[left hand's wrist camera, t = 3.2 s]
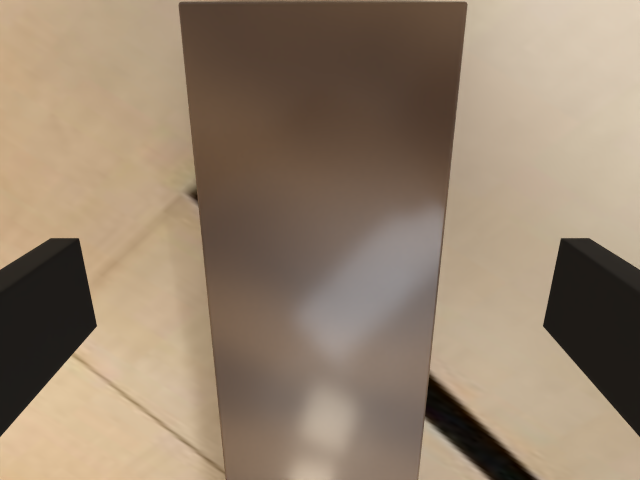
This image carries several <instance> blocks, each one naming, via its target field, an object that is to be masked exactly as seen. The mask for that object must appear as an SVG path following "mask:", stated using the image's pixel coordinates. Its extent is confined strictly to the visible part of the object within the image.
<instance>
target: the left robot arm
mask: <svg viewBox="0 0 640 480" xmlns="http://www.w3.org/2000/svg"><path fill="white" fill-rule="evenodd" d="M96 327H97V324H96V319H95V314H94V309H93V305H92V300H91V295H90V290H89V285H88V280H87V275H86V270H85V266H84V261H83V256H82V251H81V246H80V241H79V238H51V239H49V240H47V241H46V242H44V243H43V244H41V245H39V246H38V247H36V248H35V249H33V250H31V251H30V252H28V253H27V254H25V255H23V256H22V257H20V258H18V259H17V260H15V261H14V262H12V263H10V264H9V265H7V266H6V267H4V268H2V269H1V270H0V436H1V435H2V434H3V433H4V432H5V431H6V430H7V428H8V427H9V426H10V425H11V424H12V423H13V422H14V420H15V419H16V418H17V417H18V416H19V415H20V414H21V412H22V411H23V410H24V409H25V408H26V407H27V406H28V404H29V403H30V402H31V401H32V400H33V399H34V398H35V396H36V395H37V394H38V393H39V392H40V391H41V390H42V388H43V387H44V386H45V385H46V384H47V383H48V382H49V380H50V379H51V378H52V377H53V376H54V375H55V374H56V372H57V371H58V370H59V369H60V368H61V367H62V366H63V364H64V363H65V362H66V361H67V360H68V359H69V357H70V356H71V355H72V354H73V353H74V352H75V351H76V349H77V348H78V347H79V346H80V345H81V344H82V343H83V341H84V340H85V339H86V338H87V337H88V336H89V335H90V333H91V332H92V331H93V330H94V329H95V328H96ZM543 327H544V328H545V329H546V330H547V331H548V332H549V333H550V335H551V336H552V337H553V338H554V339H555V340H556V341H557V343H558V344H559V345H560V346H561V347H562V348H563V349H564V351H565V352H566V353H567V354H568V355H569V356H570V357H571V359H572V360H573V361H574V362H575V363H576V364H577V366H578V367H579V368H580V369H581V370H582V371H583V372H584V374H585V375H586V376H587V377H588V378H589V379H590V380H591V382H592V383H593V384H594V385H595V386H596V387H597V388H598V390H599V391H600V392H601V393H602V394H603V395H604V396H605V398H606V399H607V400H608V401H609V402H610V403H611V404H612V406H613V407H614V408H615V409H616V410H617V411H618V412H619V414H620V415H621V416H622V417H623V418H624V419H625V420H626V422H627V423H628V424H629V425H630V426H631V427H632V428H633V430H634V431H635V432H636V433H637V434H638V435H639V437H640V270H639V269H638V268H636V267H634V266H633V265H631V264H630V263H628V262H626V261H625V260H623V259H622V258H620V257H618V256H617V255H615V254H613V253H612V252H610V251H609V250H607V249H605V248H604V247H602V246H601V245H599V244H597V243H596V242H594V241H593V240H591V239H589V238H561V241H560V246H559V251H558V256H557V261H556V266H555V270H554V275H553V280H552V285H551V290H550V295H549V300H548V305H547V309H546V314H545V319H544V324H543Z"/></svg>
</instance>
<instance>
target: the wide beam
mask: <svg viewBox="0 0 640 480" xmlns="http://www.w3.org/2000/svg"><path fill="white" fill-rule="evenodd" d="M179 13H180V24H181V34H182V44H183V54H184V64H185V74H186V84H187V94H188V104H189V114H190V124H191V134H192V144H193V154H194V164H195V174H196V184H197V194H198V204H199V214H200V224H201V235H202V245H203V255H204V265H205V275H206V285H207V295H208V305H209V315H210V325H211V335H212V345H213V355H214V365H215V375H216V385H217V395H218V405H219V415H220V425H221V436H222V446H223V456H224V466H225V476H226V480H418V476H419V466H420V456H421V447H422V437H423V428H424V418H425V408H426V399H427V389H428V379H429V370H430V360H431V350H432V341H433V331H434V322H435V312H436V302H437V293H438V283H439V273H440V264H441V254H442V244H443V235H444V225H445V216H446V206H447V196H448V187H449V177H450V167H451V158H452V148H453V138H454V129H455V119H456V110H457V100H458V90H459V81H460V71H461V61H462V52H463V42H464V32H465V23H466V13H467V3H466V2H180V3H179Z"/></svg>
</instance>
